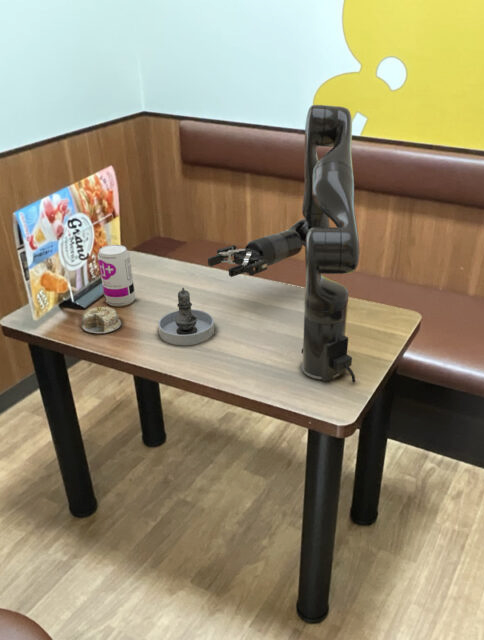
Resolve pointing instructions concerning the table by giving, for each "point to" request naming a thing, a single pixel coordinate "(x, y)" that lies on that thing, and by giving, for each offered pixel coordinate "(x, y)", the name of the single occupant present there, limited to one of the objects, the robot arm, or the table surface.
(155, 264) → the table surface
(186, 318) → the dark grey chess piece
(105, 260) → the supplement can
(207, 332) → the tin
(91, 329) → the cake
